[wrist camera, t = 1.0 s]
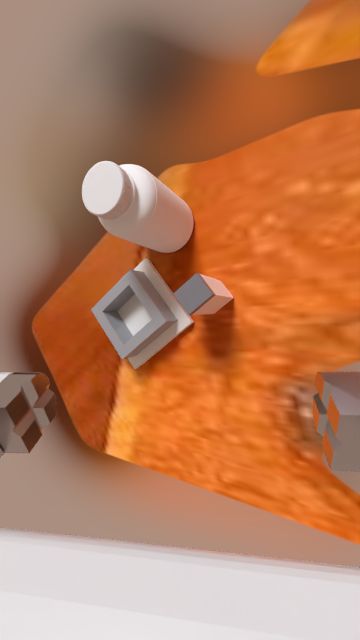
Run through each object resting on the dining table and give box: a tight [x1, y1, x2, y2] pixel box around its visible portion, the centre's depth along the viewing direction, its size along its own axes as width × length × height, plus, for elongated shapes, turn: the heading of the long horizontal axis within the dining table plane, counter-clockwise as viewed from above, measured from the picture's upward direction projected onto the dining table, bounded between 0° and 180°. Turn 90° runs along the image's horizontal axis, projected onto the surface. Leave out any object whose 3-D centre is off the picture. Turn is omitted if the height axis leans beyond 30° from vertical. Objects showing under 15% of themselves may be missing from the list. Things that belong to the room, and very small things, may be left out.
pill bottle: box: [82, 161, 194, 253], centre depth 35 cm, size 8×8×15 cm
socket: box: [91, 258, 194, 369], centre depth 42 cm, size 12×12×4 cm
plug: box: [173, 273, 234, 315], centre depth 35 cm, size 4×3×9 cm
